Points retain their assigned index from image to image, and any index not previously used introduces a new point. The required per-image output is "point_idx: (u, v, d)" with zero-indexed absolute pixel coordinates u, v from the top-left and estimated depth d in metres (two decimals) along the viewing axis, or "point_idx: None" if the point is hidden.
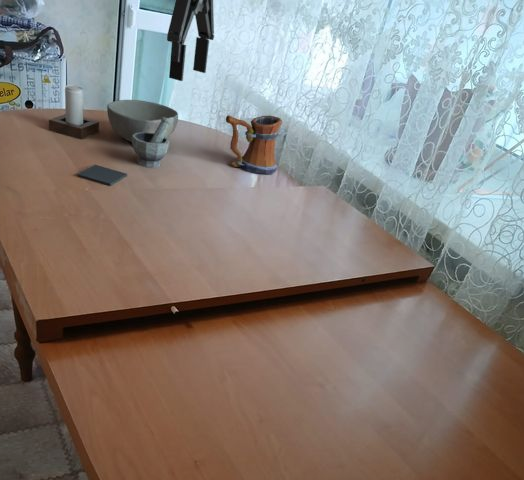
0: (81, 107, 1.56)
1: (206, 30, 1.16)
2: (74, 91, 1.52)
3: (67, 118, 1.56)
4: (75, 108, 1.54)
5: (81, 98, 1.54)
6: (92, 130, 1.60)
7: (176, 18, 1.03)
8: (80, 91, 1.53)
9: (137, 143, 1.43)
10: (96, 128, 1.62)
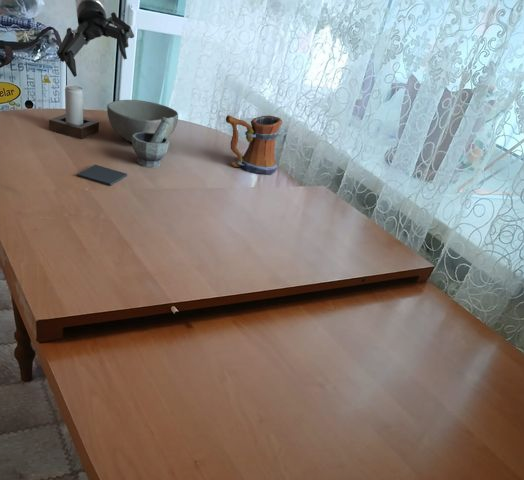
0: (81, 107, 1.56)
1: (75, 53, 1.41)
2: (74, 91, 1.52)
3: (67, 118, 1.56)
4: (75, 108, 1.54)
5: (81, 98, 1.54)
6: (92, 130, 1.60)
7: None
8: (80, 91, 1.53)
9: (137, 143, 1.43)
10: (96, 128, 1.62)
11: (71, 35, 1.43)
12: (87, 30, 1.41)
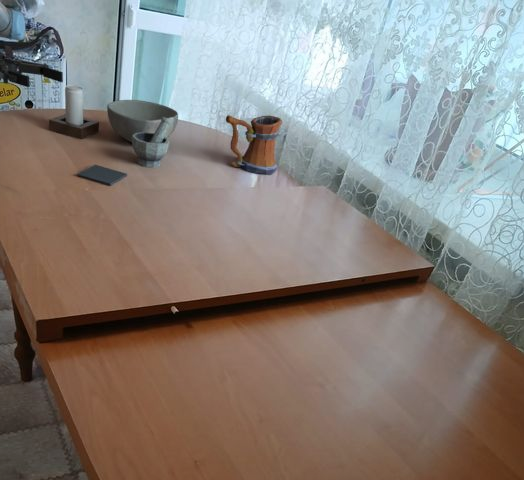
0: (81, 107, 1.56)
1: None
2: (74, 91, 1.52)
3: (67, 118, 1.56)
4: (75, 108, 1.54)
5: (81, 98, 1.54)
6: (92, 130, 1.60)
7: None
8: (80, 91, 1.53)
9: (137, 143, 1.43)
10: (96, 128, 1.62)
11: None
12: (5, 63, 1.57)
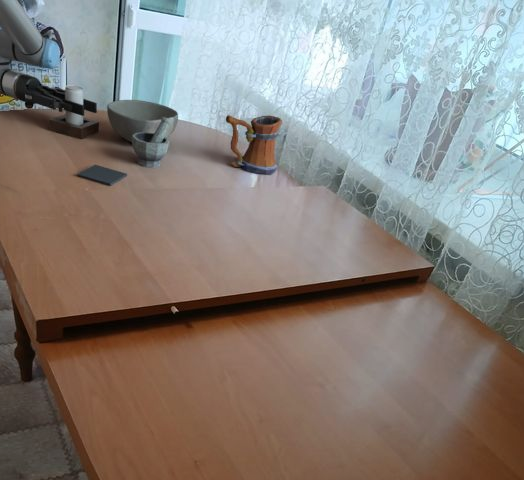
0: None
1: None
2: (74, 91, 1.52)
3: (67, 118, 1.56)
4: None
5: (81, 98, 1.54)
6: (92, 130, 1.60)
7: None
8: (80, 91, 1.53)
9: (137, 143, 1.43)
10: (96, 128, 1.62)
11: None
12: None
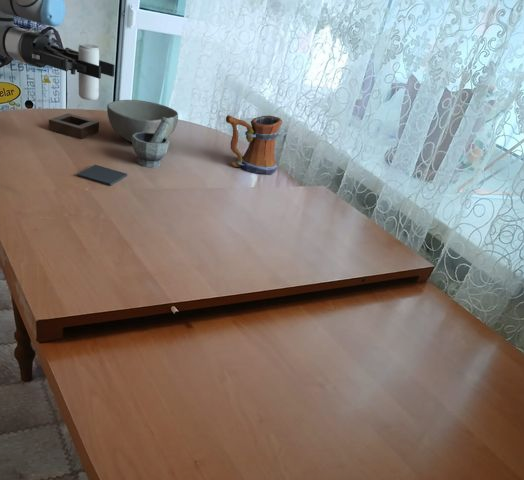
0: None
1: None
2: (89, 49, 1.31)
3: (80, 82, 1.35)
4: None
5: (97, 58, 1.33)
6: (92, 130, 1.60)
7: None
8: (96, 50, 1.32)
9: (137, 143, 1.43)
10: (96, 128, 1.62)
11: None
12: None
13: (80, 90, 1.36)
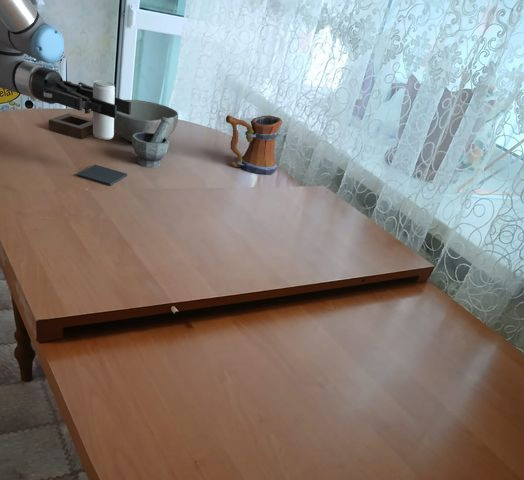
0: None
1: None
2: (104, 88, 1.23)
3: (95, 121, 1.27)
4: None
5: (113, 96, 1.25)
6: (92, 130, 1.60)
7: None
8: (112, 88, 1.24)
9: (137, 143, 1.43)
10: None
11: None
12: None
13: (94, 129, 1.28)
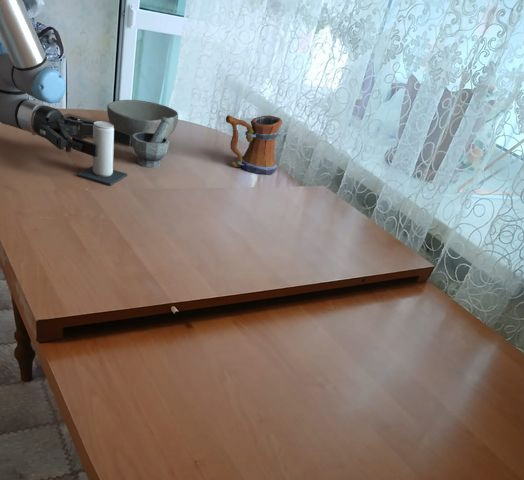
0: (111, 147, 1.32)
1: None
2: (104, 129, 1.28)
3: (95, 159, 1.33)
4: (104, 149, 1.31)
5: (112, 137, 1.30)
6: None
7: None
8: (111, 129, 1.29)
9: (137, 143, 1.43)
10: None
11: None
12: (66, 126, 1.32)
13: (94, 167, 1.34)
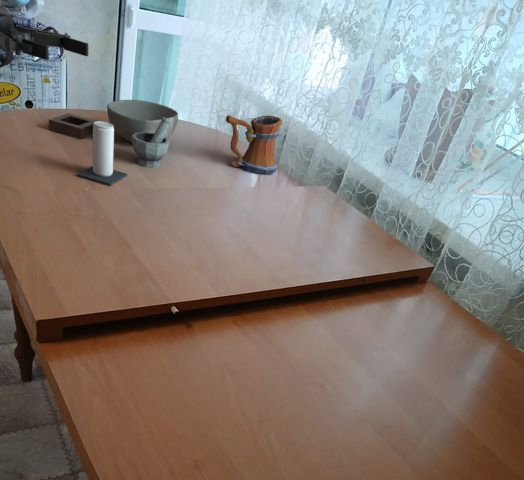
0: (111, 147, 1.32)
1: None
2: (104, 129, 1.28)
3: (95, 159, 1.33)
4: (104, 149, 1.31)
5: (112, 137, 1.30)
6: (92, 130, 1.60)
7: None
8: (111, 129, 1.29)
9: (137, 143, 1.43)
10: None
11: None
12: (17, 32, 1.25)
13: (94, 167, 1.34)
